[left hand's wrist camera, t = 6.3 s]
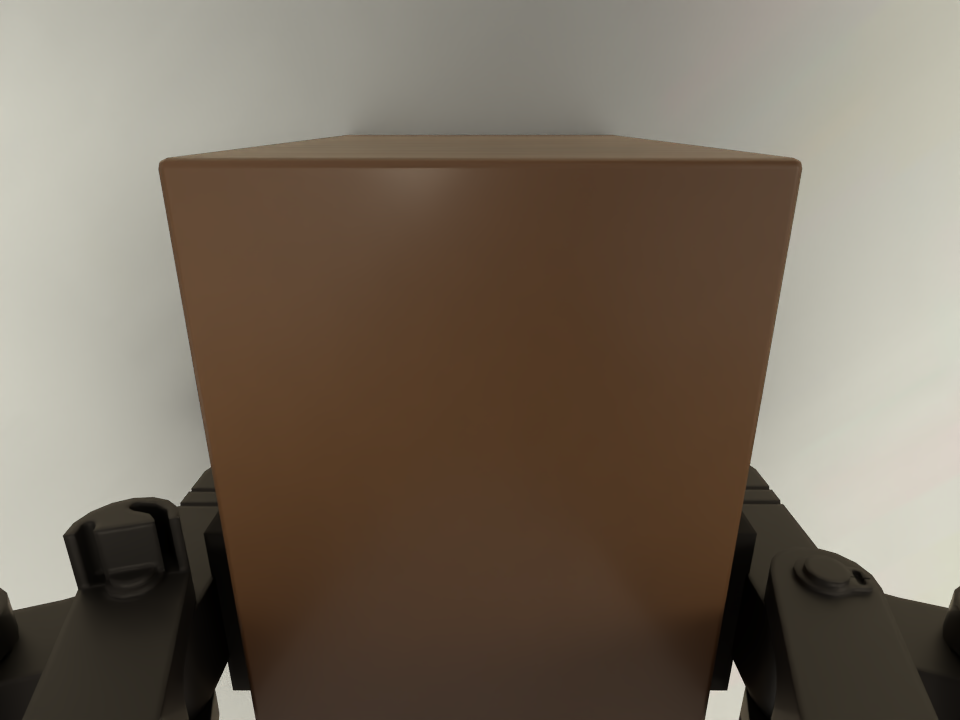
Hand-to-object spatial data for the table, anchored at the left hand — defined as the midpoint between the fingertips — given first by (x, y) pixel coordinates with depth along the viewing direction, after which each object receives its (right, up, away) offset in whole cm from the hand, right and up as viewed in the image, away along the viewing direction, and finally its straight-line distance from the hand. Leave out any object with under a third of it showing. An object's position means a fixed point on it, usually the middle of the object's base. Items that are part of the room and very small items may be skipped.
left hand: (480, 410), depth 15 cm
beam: (0, -18, +7) cm, 19 cm away
